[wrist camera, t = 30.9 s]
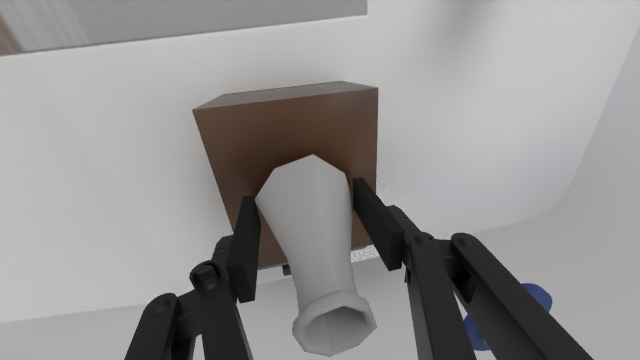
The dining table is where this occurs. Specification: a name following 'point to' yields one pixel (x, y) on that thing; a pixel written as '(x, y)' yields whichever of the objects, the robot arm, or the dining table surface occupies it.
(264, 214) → the flask
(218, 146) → the cabinet
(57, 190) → the dining table surface
